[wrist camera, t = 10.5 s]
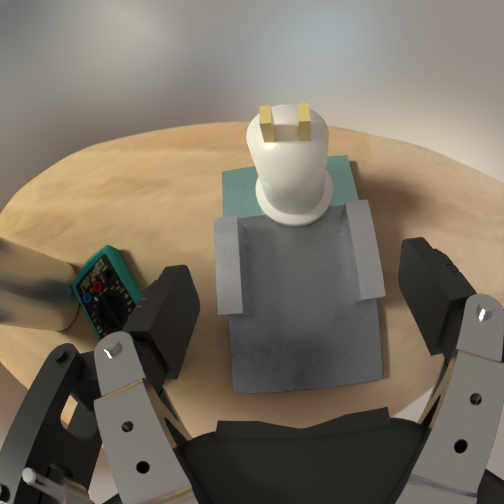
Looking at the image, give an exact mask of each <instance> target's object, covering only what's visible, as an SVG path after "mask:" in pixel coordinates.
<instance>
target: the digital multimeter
mask: <svg viewBox="0 0 504 504" xmlns="http://www.w3.org/2000/svg"><path fill="white" fill-rule="evenodd" d="M109 259H110V260H109ZM114 268H115V269H114ZM122 282H123V283H122ZM72 288H73V290H74V292H75V294H76V296H77V298H78V300H79V302H80V304H81V306H82V308H83V310H84V312H85V314H86V316H87V318H88V320H89V321H90V323H91V325H92V327H93V329H94V331H95V333H96V335H97V337H98V338H99V340H100V341H101V340H102V339H103V338H104V337H106V336H107V335H109V334H111V333H114V332H121V330H122V329H123V327H124V325H125V323H126V322H127V320H128V318H129V316H130V315H131V313H132V311H133V310H134V308H135V307H136V305H137V303H138V301H139V300H141V296H142V295H143V294H142V292H141V291H140V289H139V287H138V286H137V284H136V282H135V280H134V279H133V277H132V275H131V273H130V272H129V270H128V268H127V266H126V264H125V262H124V260H123V258H122V256H121V254H120V252H119V250H118V249H116V248H114V247H112V246H110V245H106V246H105V247H103V248H102V249H101V250H99V251H98V252H96V253H95V254H94V255H93V256H92V257H91V258H90V259H89V260H88V261H87V262H86V263H85V264H84V265H83V267H82V268H81V270H80V272H79V273H78V275H77V277H76V278H75V280H74V282H73V284H72ZM126 289H127V290H126ZM115 293H116V294H115ZM129 294H130V295H129ZM132 299H133V300H132ZM134 302H135V303H134ZM104 327H105V328H104Z"/></svg>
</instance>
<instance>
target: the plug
mask: <svg viewBox="0 0 504 504" xmlns="http://www.w3.org/2000/svg"><path fill="white" fill-rule="evenodd" d="M328 137H329V133H328V127H327V125H326V123H325V121H324V120H323V119H322V117H321V116H320V115H319V114H317V113H316V112H315V111H313V110H311V109H309V106H308V103H303V104H297V105H293V104H285V105H278V106H274V107H271V105H267V106H260V114H258V115H257V116H256V117H255V118H254V119H253V120H252V122H251V123H250V125H249V127H248V130H247V135H246V138H247V144H248V147H249V149H250V152H251V155H252V158H253V161H254V164H255V167H256V170H257V173H258V179H257V182H256V197H257V200H258V203H259V205H260V207H261V209H262V211H263V212H264V214H265V215H266V216H267V217H268V218H270V219H271V220H272V221H274V222H276V223H278V224H280V225H284V226H288V227H301V226H306V225H309V224H311V223H313V222H315V221H317V220H318V219H320V218H321V217H322V216H323V215H324V214H325V213H326V211H327V210H328V208H329V206H330V204H331V201H332V195H333V183H332V179H331V176H330V174H329V173H328V171H327V170H326V166H327V152H328Z"/></svg>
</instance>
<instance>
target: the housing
mask: <svg viewBox="0 0 504 504" xmlns="http://www.w3.org/2000/svg"><path fill="white" fill-rule="evenodd" d="M326 170H327V171H328V173H329V174H330V176H331V179H332V183H333V195H332V201H331V204H330V206H329V208H328V210H327V211H326V213H325V214H324V215H323V216H322V217H321V218H320V219H318V220H317V221H315V222H313V223H311V224H309V225H306V226H301V227H288V226H284V225H280V224H278V223H276V222H274V221H272V220H271V219H270V218H268V217H267V216H266V215H265V214H264V212H263V211H262V209H261V207H260V205H259V203H258V200H257V197H256V182H257V179H258V173H257V170H256V167H255V166H254V167H247V168H241V169H235V170H230V171H224V172H222V192H223V217H221V218H215V219H214V239H215V268H216V291H217V310H218V315H223V316H228V323H229V338H230V353H231V367H232V380H233V392H234V393H267V392H285V391H299V390H310V389H319V388H328V387H336V386H343V385H350V384H356V383H363V382H368V381H374V380H379V379H383V377H382V356H381V341H380V329H379V319H378V309H377V301H376V300H378V299H380V298H382V297H385V296H386V295H385V287H384V280H383V274H382V268H381V262H380V256H379V250H378V245H377V240H376V235H375V230H374V225H373V220H372V216H371V211H370V207H369V203H368V199H365V200H359V199H358V195H357V191H356V187H355V183H354V179H353V175H352V171H351V167H350V164H349V160H348V156H347V155H344V156H333V157H327V166H326Z"/></svg>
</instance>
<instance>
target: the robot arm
mask: <svg viewBox="0 0 504 504" xmlns="http://www.w3.org/2000/svg"><path fill="white" fill-rule="evenodd" d="M76 277H77V273H76V272H75V270H74V268H73V267H72V266H71V265H70V264H68V263H67V262H64V261H61V260H58V259H56V258H53V257H50V256H47V255H45V254H42V253H40V252H37V251H34V250H32V249H29V248H27V247H24V246H21V245H19V244H16V243H14V242H11V241H9V240H6V239H4V238H2V237H0V324H1V325H8V326H15V327H23V328H32V329H40V330H52V331H62V330H65V329H66V328H68V327H69V326H70V325H71V323H72V322H73V320H74V319H75V317H76V314H77V311H78V307H79V300H78V298H77V296H76V294H75V292H74V290H73V288H72V284H73V282H74V280H75V278H76ZM399 287H400V290H401V293H402V295H403V296H404V298H405V300H406V302H407V304H408V306H409V308H410V310H411V313H412V315H413V317H414V319H415V321H416V323H417V325H418V327H419V329H420V332H421V334H422V336H423V338H424V341H425V343H426V345H427V347H428V350H429V352H430V354H431V356H433V355H437V354H441V353H443V355H444V357H445V358H444V360H443V363H442V365H441V368H440V371H439V374H438V377H437V380H436V382H435V385H434V388H433V391H432V393H431V395H430V398H429V400H428V403H427V405H426V408H425V410H424V411H423V413H422V415H421V417H420V419H419V421H418V423H416V422H414V421H410V420H406V419H401V418H390V417H389V412H388V407H385V408H380V409H375V410H369V411H364V412H358V413H352V414H346V415H343V416H341V417H338V418H335V419H333V420H330V421H327V422H324V423H321V424H318V425H315V426H312V427H308V428H304V429H298V428H292V427H286V426H280V425H275V424H270V423H265V422H260V421H218V423H217V429H216V431H214V432H210V433H206V434H203V435H200V436H198V437H195V438H192V437H191V435H190V434H189V433H188V431H187V430H186V428H185V426H184V425H183V423H182V421H181V419H180V417H179V415H178V413H177V412H176V410H175V408H174V406H173V404H172V402H171V400H170V398H169V396H168V394H167V391H166V389H165V388H164V386H163V383H164V380H165V379H177V378H178V375H179V372H180V369H181V366H182V363H183V360H184V357H185V354H186V351H187V348H188V344H189V341H190V338H191V335H192V332H193V329H194V327H195V324H196V321H197V318H198V315H199V311H200V302H199V297H198V294H197V292H196V289H195V286H194V283H193V280H192V278H191V275H190V272H189V269H188V267H187V266H186V265H176V266H167V267H165V269H164V270H163V272H162V274H161V275H160V277H159V279H158V280H155V281H154V282H153V283H152V284H151V285H150V286H149V287H147V288H146V290H145V291H144V293H143V295H142V296H141V300H139V301H138V303H137V305H136V307H135V308H134V310H133V311H132V313H131V315H130V316H129V318H128V320H127V322H126V323H125V325H124V327H123V329H122V330H121V332H114V333H111V334H109V335H107V336H106V337H104V338H103V339H102V340H101V341H100V342H99V343H98V344H97V346H96V348H95V351H91V352H86V353H81V354H80V353H79V352H78V350H77V349H76V348H75V346H74V345H73V344H70V343H65V344H62V345H60V346H58V347H56V348H55V349H54V350H53V351H52V352H51V353H50V354H49V356H48V357H47V359H46V360H45V362H44V364H43V366H42V367H41V369H40V371H39V373H38V374H37V376H36V378H35V380H34V381H33V383H32V385H31V387H30V389H29V391H28V393H27V395H26V396H25V398H24V400H23V402H22V404H21V406H20V408H19V410H18V413H17V415H16V417H15V419H14V421H13V423H12V425H11V427H10V430H9V432H8V434H7V437H6V439H5V441H4V444H3V446H2V449H1V451H0V504H95V503H94V502H93V501H92V500H90V497H89V494H88V490H89V486H90V482H91V479H92V475H93V472H94V468H95V465H96V461H97V458H98V455H99V451H100V448H101V445H102V443H103V446H104V450H105V453H106V457H107V460H108V463H109V466H110V470H111V473H112V476H113V478H114V481H115V484H116V487H117V490H118V492H119V493H118V494H116V495H115V496H113V497H112V498H110V499H109V500H107V501H106V502H104V503H103V504H504V480H502V479H501V478H499V477H498V476H496V475H495V474H493V473H491V472H490V471H489V470H487V469H486V465H487V462H488V459H489V456H490V453H491V450H492V447H493V444H494V440H495V437H496V433H497V429H498V425H499V421H500V416H501V412H502V407H503V402H504V309H503V307H502V305H501V304H500V303H499V302H498V301H497V300H496V299H495V298H493V297H491V296H489V295H486V294H477V293H476V291H475V290H474V289H473V287H472V286H471V285H470V283H469V282H468V281H467V280H466V278H465V277H464V276H463V275H462V273H461V272H459V270H458V268H457V267H456V266H455V265H453V262H452V261H451V260H450V259H449V258H448V256H447V255H446V254H444V253H442V252H441V251H439V250H437V249H433V248H432V247H431V246H430V245H429V243H428V242H427V241H426V240H425V239H424V238H423V237H418V238H409V239H404V240H403V242H402V247H401V258H400V267H399ZM69 395H71V396H72V397H73V398H74V399H75V400H76V401H77V402H78V404H77V406H76V409H75V411H74V413H73V416H72V418H71V421H70V423H69V426H68V428H67V430H66V429H65V428H64V427H63V426H62V424H61V419H60V417H61V413H62V410H63V408H64V406H65V404H66V401H67V399H68V397H69Z"/></svg>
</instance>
